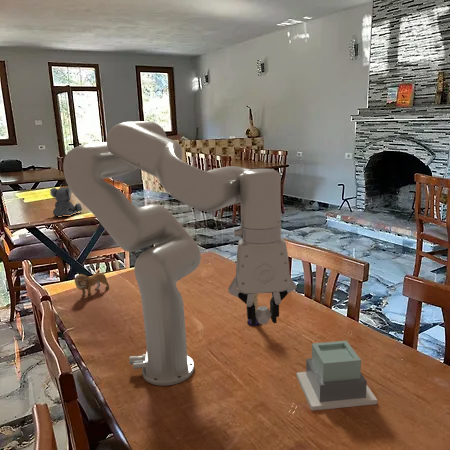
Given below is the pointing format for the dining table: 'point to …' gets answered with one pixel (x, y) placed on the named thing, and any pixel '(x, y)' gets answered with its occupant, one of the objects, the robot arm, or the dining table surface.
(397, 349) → the dining table surface
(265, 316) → the game die
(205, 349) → the dining table surface
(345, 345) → the stepped pedestal
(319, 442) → the dining table surface
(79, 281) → the lion figurine
